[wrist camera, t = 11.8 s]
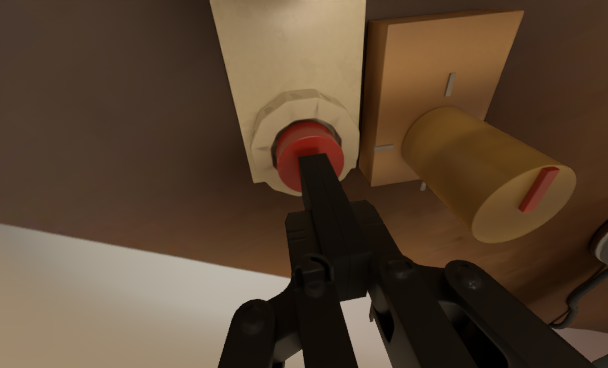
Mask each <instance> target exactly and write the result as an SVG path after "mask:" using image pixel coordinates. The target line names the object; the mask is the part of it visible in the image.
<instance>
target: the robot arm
mask: <svg viewBox="0 0 608 368" xmlns="http://www.w3.org/2000/svg"><path fill="white" fill-rule="evenodd" d="M298 160H299V170H300V180H301V190H302V198H303V202H304V206H305V211H299V212H293V213H288V216H287V218H286V221H285V226H286V233H287V241H288V248H289V255H290V262H291V270H292V272H291V276H292V277H291V281H290V283H289V285H288V286H287V288H286V289H285V290H284V291H283V292H281V293H280V294H279V295H277V296H275V297H273V298H271V299H270V300H268V301H265V300H261V299H255V300H250V301H247V302H246V303H244V304H242V305H241V306H240V307H239V309H237V310H236V312H235V314H234V316H233V318H232V321H231V324H230V327H229V331H228V335H227V338H226V341H225V344H224V348H223V352H222V355H221V358H220V361H219V365H218V368H284V367H285V360H286V359H288V358H289V357H291V356H292V355H294V354H295V353H297V352H298V351H300V350H301V349H302V350H303V357H304V364H305V368H358V365H357V361H356V358H355V355H354V351H353V347H352V344H351V341H350V337H349V333H348V330H347V326H346V323H345V320H344V316H343V313H342V309H341V306H340V302H341V301H346V300H351V299H356V298H361V297H366V294H367V290H368V293H369V295H370V297H371V300H372V302H371V308H370V314H369V318H370V322H372V321H373V318H374V319H375V322H376V324H377V327H378V330H379V332H380V335H381V338H382V340H383V343H384V346H385V348H386V351H387V354H388V356H389V359H390V362H391V365H392V367H393V368H608V354H607V355H605V356H603V357H601V358H599V359H597V360H595V361H593V362H592V363H591V362H590V361H589V360H588V359H586V358H585V357H584V356H583V355H582V354H580V353H579V352H578V351H577V350H576V349H575V348H574V347H572V346H571V345H570V344H569V343H568V342H567V341H565V340H564V339H563V338H562V337H561V336H560V335H558V334H557V333H556V332H555V331H554V330H553V329H552V328H554V329H564V328H566V327H567V326H568V325H569V324H570V323H571V322H572V320H573V319H574V317H575V316H576V314H577V313H578V307H577V306H576V303H577V302H578V300H579V299H580V298H581V297H582V296H583V295H585V294H586V293H587V292H588V291H590V290H591V289H593V288H594V287H595V286H597V285H598V284H600V283H601V282H602V281H604V280H605V279H607V278H608V269H606V270H604V271H603V272H602V273H600V274H599V275H597V276H596V277H595V278H593V279H592V280H591V281H589V282H588V283H587V284H585V285H584V286H583V287H581V288H580V289H579V290H578V291H577V292H575V293H574V294H573V296H572V297H571V298H570V299H569V306H570V307H571V310H570V311H569V313H568V315H567V316H566V318H565V319H564V321H563V322H561V323H560V324H553V323H551V324H549V325H548V324H546V323H545V322H543V321H542V320H541V319H540V318H539V317H538V316H536V315H535V314H534V313H533V312H532V311H531V310H529V309H528V308H527V307H526V306H525V305H524V304H522V303H521V302H520V301H519V300H518V299H517V298H515V297H514V296H513V295H512V294H511V293H510V292H508V291H507V290H506V289H505V288H504V287H503V286H501V285H500V284H499V283H498V282H497V281H496V280H494V279H493V278H492V277H491V276H490V275H489V274H487V273H486V272H485V271H484V270H483V269H481V268H480V267H478V266H477V265H475V264H473V263H471V262H468V261H464V260H454V261H450V262H449V263H448V264H447V265H446V266H445V268H438V267H429V266H423V265H418V264H416V263H414V262H413V261H412V260H411V259H409V258H408V257H406V256H404V255H402V253H401V252H400V250H399V249H398V247H397V245H396V244H395V242H394V240H393V238H392V237H391V235H390V233H389V231H388V230H387V228H386V226H385V224H383V221H382V219H381V218H380V217H379V214H378V212H377V211H376V209H375V207H374V206H373V205H371V204H370V203H369V202H368V201H366V200H362V201H356V202H350V203H349V201H348V199H347V196H346V194H345V192H344V190H343V188H342V186H341V184H340V181H339V179H338V177H337V175H336V173H335V171H334V169H333V166H332V164H331V162H330V160H329V158H328V156H327V154H326V153H321V154H314V155H307V156H300V157H298ZM590 252H591V254H592V255H594V256H595V257H596V258H598V259H599V260H600V261H602V262H604V263H605V264H607V265H608V223H607V224H606V225H605V226H604V227H603V228H602V229H601V230H600V231H599V232H598V233H597V234H596V236H595V237H594V239H593V240H592V242H591V245H590ZM550 327H551V328H550Z"/></svg>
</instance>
